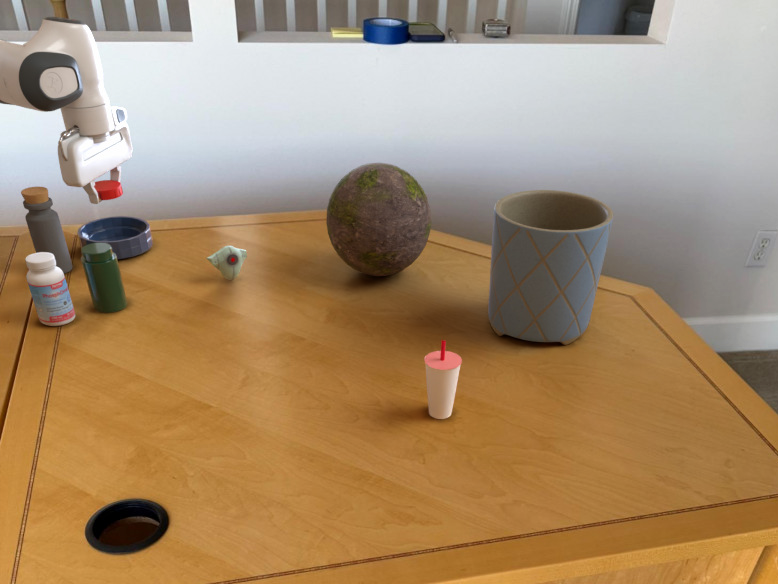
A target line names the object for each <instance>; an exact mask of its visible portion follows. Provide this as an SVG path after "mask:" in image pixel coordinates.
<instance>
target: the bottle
mask: <svg viewBox="0 0 778 584" xmlns="http://www.w3.org/2000/svg"><path fill="white" fill-rule="evenodd" d="M20 194H21V196H22V198H23V201H22V205H23V208H24V209H25V210H27V211H28V212H27V213H26V214H25V218H24V219H25V221H26V225H27V228H28V233H29V235H30V238H31V241H32V244H33V247H34V248H33V249H34V251H35V253H38V252H49V253H52V254H53V255H54V257H55V260H56V266H57V267H59V268H60V269H61V270H62V271H63V273H64V274H67V273H69V272H71V271H72V269H73V268H74V267H73V263H72V259H71V256H70V252H69V248H68V244H67V241H66V237H65V233H64V230H63V226H62V223H61V219H60V217H59V214H58V212H57V211H56V210H54V209H52V206H53V204H54V202H53V199H52V198H51V197H50V196H49V189H48V188H47V187H45V186H29V187H26V188H24V189H22V190H21V191H20Z"/></svg>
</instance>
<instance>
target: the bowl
mask: <svg viewBox="0 0 778 584" xmlns="http://www.w3.org/2000/svg"><path fill="white" fill-rule="evenodd" d="M76 235H77V239H78V242H79V246H80V250H81V249H82V248H83V247H84V246H86V245H88V244H92V243H107V244H109V245H111V248H112V252H114V253H115V254H116V256H117V260H122V259H127V258H133V257H136V256H139V255H142V254H144V253H146V252H147V251H149V250H150V249H151V248H152V247H153V246H154V240H153V233H152V230H151V225H150V223H149V222H148V221H147V220H145V219H142V218H140V217H135V216H129V215H127V216H124V215H119V216H117V215H116V216H107V217H100V218H97V219H93V220H91V221H88V222H86V223H84V224H82V225H81V226H80V227H79V228H78V229H77V232H76Z"/></svg>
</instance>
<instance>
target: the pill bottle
mask: <svg viewBox="0 0 778 584" xmlns="http://www.w3.org/2000/svg"><path fill="white" fill-rule="evenodd" d="M24 261H25V264H26V267H27V269H28V271H27V273H26V275H25V276H26V277H25V278H26V282H27V285H28V288H29V292H30V295H31V298H32V302H33V304H34V308H35V311H36V314H37V317H38V320H39V322H40V324H43V325H45V326H49V327H60V326H65V325H67V324H70V323H71V322H73V321H74V320H75V318H76V311H75V308H74V304H73V302H72V298H71V294H70V290H69V286H68V283H67V280H66V277H65V273H63V271H62V270H61V269H60V268H59V267H57V266H56V260H55V257H54V255H53V254H52V253H49V252H38V253H36V252H34V253H31V254H28V255H27V256H26V257H25V260H24Z"/></svg>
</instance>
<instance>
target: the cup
mask: <svg viewBox="0 0 778 584" xmlns="http://www.w3.org/2000/svg"><path fill="white" fill-rule="evenodd" d="M440 343H441V344H440V350H436V351H431V352H429V353H427V354H426V355H425V357H424V364H425V376H426V377H425V378H426V379H425V380H426V392H427V404H428V406H427V407H428V414H429V416H430V417H432V418H434V419H437V420H444V419H448V418H449V417H451V416H452V413H453V408H454V403H455V397H456V392H457V387H458V380H459V375H460V370H461V364H462V363H463V359H462V357H461V356H460V355H459V354H457V353H456V352H452V351H450V350H449V351H448V350H446V343H447V340H444V339H441V342H440Z"/></svg>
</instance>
